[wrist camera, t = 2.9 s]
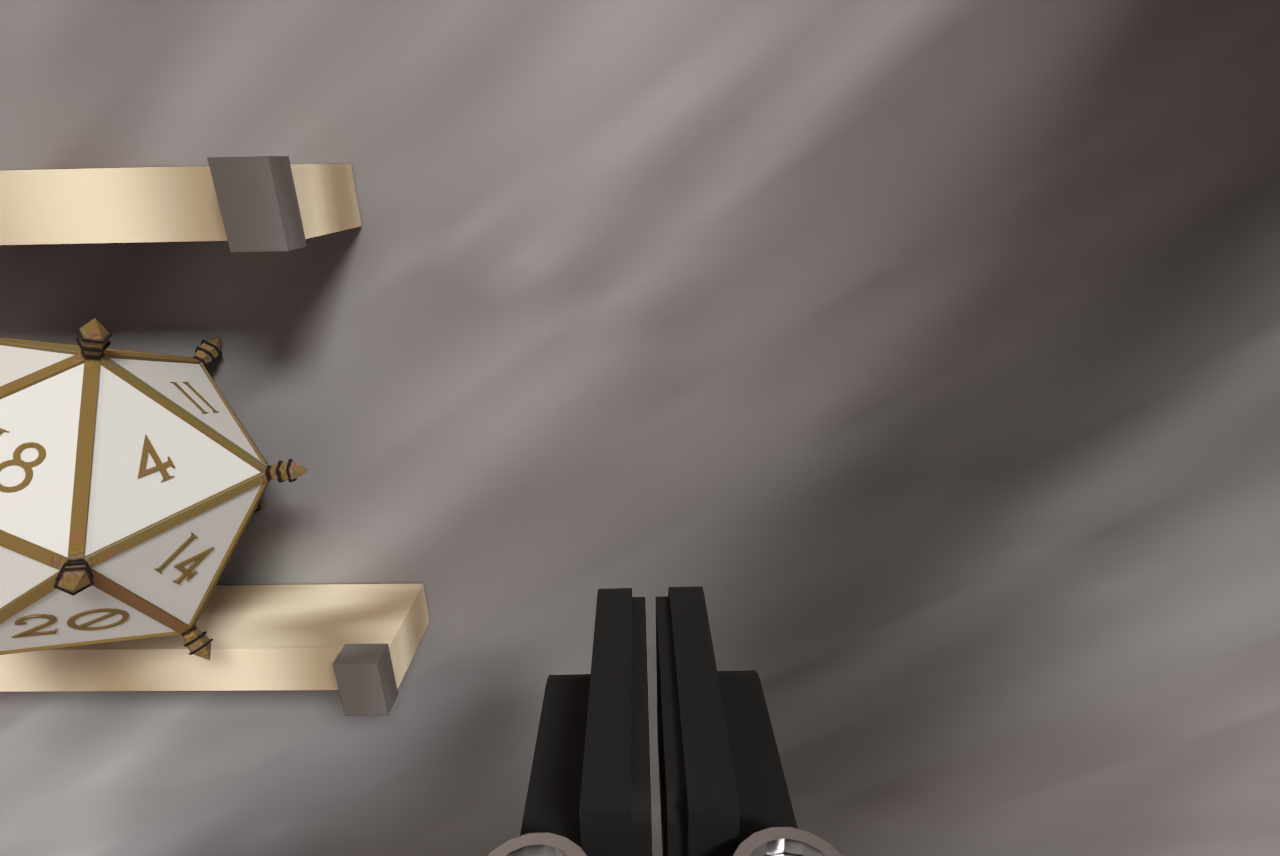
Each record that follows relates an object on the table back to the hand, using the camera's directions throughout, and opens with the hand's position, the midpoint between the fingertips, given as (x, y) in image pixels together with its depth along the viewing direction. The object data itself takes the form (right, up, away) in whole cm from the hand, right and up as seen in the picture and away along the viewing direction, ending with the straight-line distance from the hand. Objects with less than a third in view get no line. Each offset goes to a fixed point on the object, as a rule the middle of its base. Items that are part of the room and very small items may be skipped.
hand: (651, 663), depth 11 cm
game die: (-13, +4, +9) cm, 16 cm away
